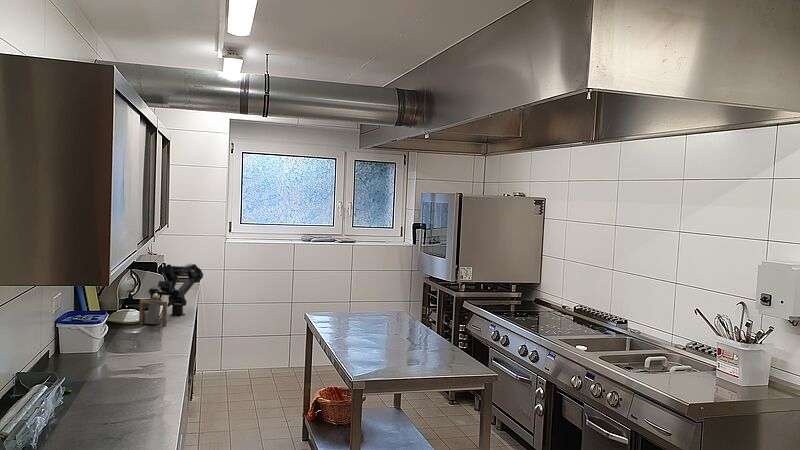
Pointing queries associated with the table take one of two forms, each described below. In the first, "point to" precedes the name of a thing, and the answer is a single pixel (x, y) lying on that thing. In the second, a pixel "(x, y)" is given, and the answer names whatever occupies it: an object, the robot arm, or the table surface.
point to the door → (146, 315)
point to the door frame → (142, 303)
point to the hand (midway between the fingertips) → (160, 305)
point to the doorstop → (154, 311)
